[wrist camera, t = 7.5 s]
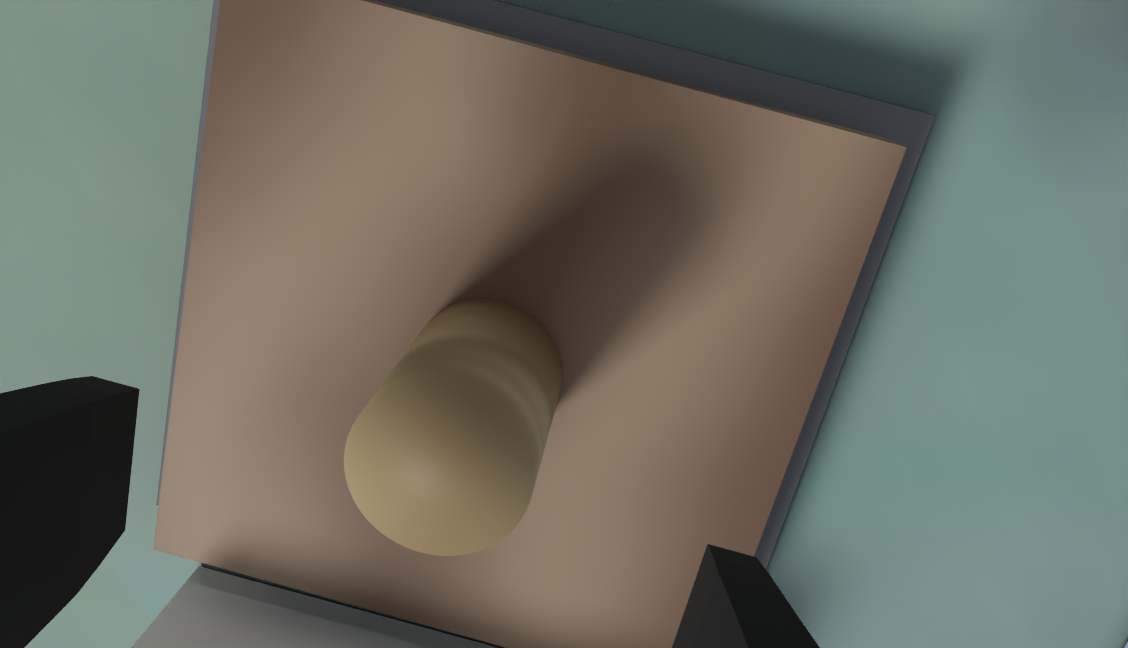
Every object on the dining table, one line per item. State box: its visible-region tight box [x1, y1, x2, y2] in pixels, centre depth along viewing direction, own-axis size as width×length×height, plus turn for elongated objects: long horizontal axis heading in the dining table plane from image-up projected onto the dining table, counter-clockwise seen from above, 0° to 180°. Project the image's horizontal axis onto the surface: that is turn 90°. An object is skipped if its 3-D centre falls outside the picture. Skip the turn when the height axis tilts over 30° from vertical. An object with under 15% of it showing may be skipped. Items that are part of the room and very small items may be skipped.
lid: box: [153, 0, 907, 648], centre depth 16 cm, size 12×12×5 cm
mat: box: [157, 0, 935, 569], centre depth 19 cm, size 13×12×1 cm
